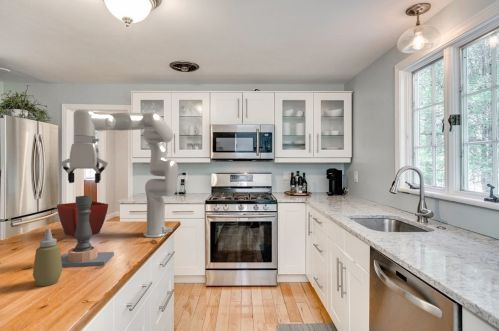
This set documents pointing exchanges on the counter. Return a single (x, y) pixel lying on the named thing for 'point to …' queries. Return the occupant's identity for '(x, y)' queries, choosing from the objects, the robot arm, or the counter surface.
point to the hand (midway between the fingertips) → (84, 182)
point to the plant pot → (71, 217)
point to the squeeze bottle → (47, 261)
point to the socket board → (88, 263)
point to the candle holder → (83, 224)
